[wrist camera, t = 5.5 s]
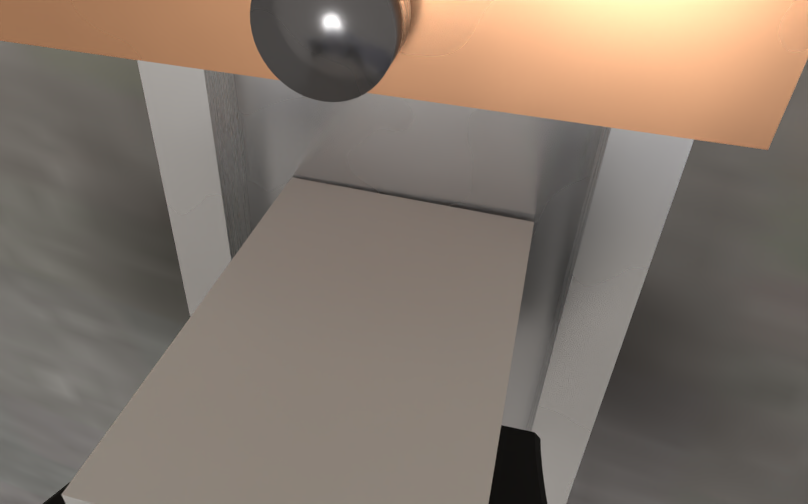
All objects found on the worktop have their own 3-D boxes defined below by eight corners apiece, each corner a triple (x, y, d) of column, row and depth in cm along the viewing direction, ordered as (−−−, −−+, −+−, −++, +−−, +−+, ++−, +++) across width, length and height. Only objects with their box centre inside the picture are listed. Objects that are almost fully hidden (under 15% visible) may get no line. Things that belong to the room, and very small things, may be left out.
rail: (534, 556, 17) (519, 752, 14) (253, 489, 18) (176, 655, 15) (755, -119, 8) (875, -13, 4) (145, -171, 9) (-125, -118, 5)
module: (486, 452, 14) (425, 799, 10) (303, 407, 15) (162, 713, 10) (537, 223, 10) (476, 610, 6) (288, 176, 11) (56, 493, 6)
